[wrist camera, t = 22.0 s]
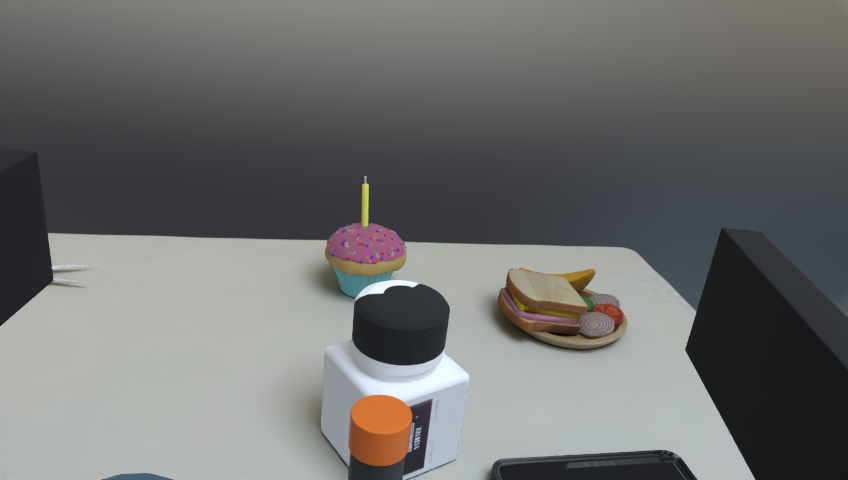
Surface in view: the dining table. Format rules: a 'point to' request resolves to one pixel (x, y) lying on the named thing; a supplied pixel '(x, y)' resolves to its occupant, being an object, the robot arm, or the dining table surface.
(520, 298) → the toy sandwich meal
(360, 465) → the marker
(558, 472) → the phone
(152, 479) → the pen cup
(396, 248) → the cupcake
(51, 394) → the dining table surface
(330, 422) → the container
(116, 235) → the dining table surface
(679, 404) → the dining table surface
